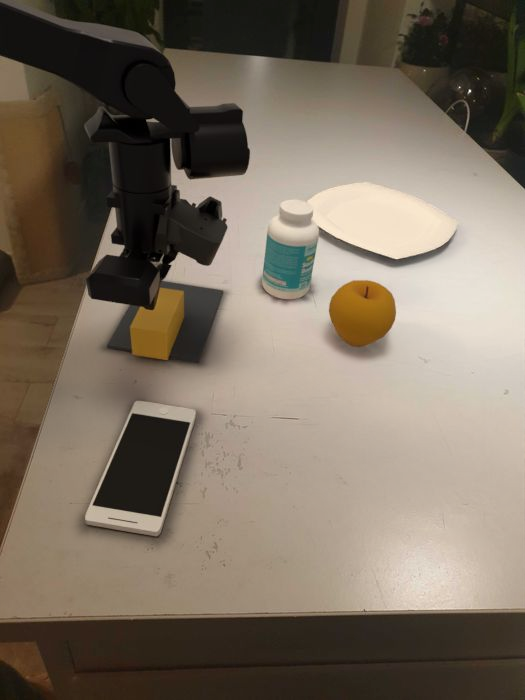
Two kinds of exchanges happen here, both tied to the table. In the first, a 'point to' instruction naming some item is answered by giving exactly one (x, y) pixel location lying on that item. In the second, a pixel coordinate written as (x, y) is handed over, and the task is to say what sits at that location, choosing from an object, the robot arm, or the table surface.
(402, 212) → the plate
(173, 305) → the block
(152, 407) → the smartphone
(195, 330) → the mat
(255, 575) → the table surface
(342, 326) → the apple
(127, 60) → the robot arm
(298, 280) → the pill bottle
